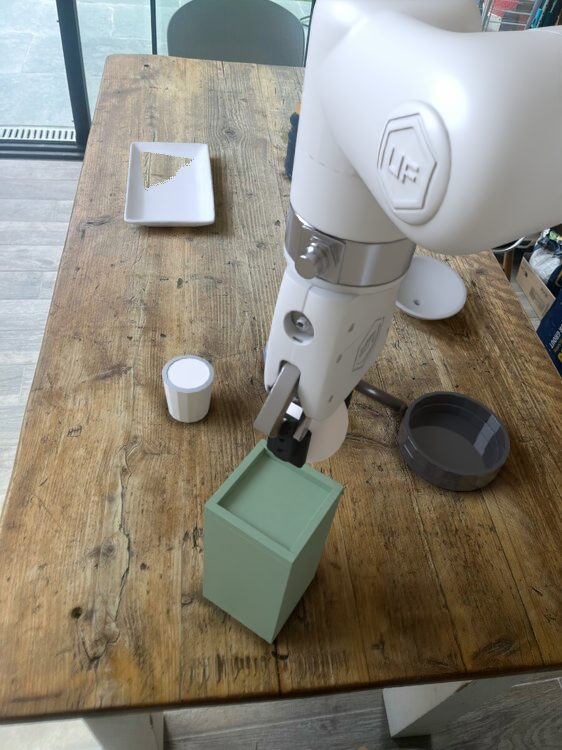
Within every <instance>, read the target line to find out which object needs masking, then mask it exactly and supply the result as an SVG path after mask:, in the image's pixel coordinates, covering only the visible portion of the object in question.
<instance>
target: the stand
mask: <svg viewBox="0 0 562 750" xmlns="http://www.w3.org/2000/svg"><path fill="white" fill-rule="evenodd" d="M344 489H345V486H344V485H343V484H342V483H339V482H338V481H336V480H334V479H332V478H331V477H329V476H328V475H326V474H324V473H322V472H321V471H319V470H317V469H315V468H313V467H312V466H311V465H309V464H308V463H305V464H304V465H303V467H302V468H297V467H296V466H294V465H292V464H291V463H289V462H284V461H282V460H280V459H278V458H277V457H275V456H274V455H273V453H272V452H271V451H269V450H268V449H267V439H264V438H263V437H262V438H261V439H260V440H259V441H258V442H257V444H256V445H255V446H254V447H253V448H252V449H251V451H250V452H249V453H248V454H247V455H246V457H244V459H243V460H242V461H241V462H240V463H239V465H238V466H237V467H236V468H235V469H234V470H233V471H232V473H231V474H230V475H229V476H227V479H225V481H224V482H223V483H222V484H221V485H220V486H219V487H218V489H217V490H216V491H215V492H214V494H212V495H211V497H210V498H209V499H208V500H207V501H206V503H204V505H203V557H202V559H203V561H202V562H203V563H202V565H203V566H202V596H203V597H204V598H205V599H207V600H208V601H210V602H211V603H212V604H214V605H215V606H217V607H218V608H219V609H221V610H222V611H223V612H225V613H226V614H227V615H229V616H231V617H232V618H233V619H234V620H237V621H238V622H239V623H241V624H242V625H243V626H245V627H246V628H248V630H250V631H252V632H253V633H254V634H256V635H258V636H259V637H260V638H262V639H263V640H265V642H267V643H268V644H271V645H272V644H273V643H274V641H275V639H276V638H277V636H278V634H279V633H280V631H281V630H282V629H283V627H284V625H285V624H286V622H287V621H288V619H289V617H290V616H291V614H292V613H293V611H294V610H295V607H297V605H298V603H299V602H300V600H301V598H302V597H303V595H304V594H305V592H306V590H307V589H308V587H309V585H310V584H311V582H312V581H313V579H314V578H315V575H316V573H317V570H318V566H319V564H320V560H321V557H322V554H323V552H324V548H325V545H326V544H327V543H326V542H327V539H328V537H329V534H330V531H331V527H332V525H333V521H334V519H335V515H336V513H337V510H338V507H339V504H340V501H341V498H342V495H343V493H344Z"/></svg>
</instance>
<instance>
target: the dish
mask: <svg viewBox="0 0 562 750" xmlns="http://www.w3.org/2000/svg"><path fill="white" fill-rule="evenodd" d="M467 294H468V291H467V287H466V283H465V281H464V280H463V279H462V277H461V275H460V274H459V273H458V272H457V271H456V270H455V269H454V268H453V267H452V266H450V265H449V264H447V263H446V262H445V261H442V260H440V259H438V258H435V257H433V256H429V255H425V254H416V253H414V256H413V259H412V262H411V264H410V268H409V271H408V274H407V276H406V278H405V279H404V280H403V281H402V282H401V284H400V289H399V293H398V297H397V301H396V305H395V307H397V308H398V309H399V310H400V311H402V312H403V313H404V314H406V315H408V316H410V317H413V318H415V319H419V320H424V321H432V320H434V321H435V320H436V321H437V320H445V319H449V318H451V317H453V316H455V315H457V314H458V313H459V312H460V311H461V310H462V309H463V308H464V306H465V304H466V301H467Z"/></svg>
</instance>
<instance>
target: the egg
mask: <svg viewBox="0 0 562 750" xmlns="http://www.w3.org/2000/svg"><path fill="white" fill-rule="evenodd" d="M302 410H303V409H302V408H301V407H299V406H297V405H296V404H294V403H292V402H291V404H290V406H289V408H288V410H287V412H286V413H288V414H289V415H291V416H293V417H295V418H296V419H298V420H299V418H300V416H301V413H302ZM348 411H349V410H348V409H347V408H346V405H345V402H344V401H343V402H342V403H341V405H340V406H339V407H338V408H337V409H336V410H335V412H334V413H333V414H332V415H331V416H329V417H328V418H326V419H324V420H321V421H315V420H314V419H312V421H311V423H310V426H309V428H308V429H309V430H310V431H311V432H312V436H311V440H310V445H309V449H308V454H307V458H306V462H305V464H316V463H320V462H322V461H326V460H327V459H329V458H331V457H332V456H334V454H335V453H337V451H339V450H340V449H341V447H342V445H343V443H344V441H345V440H346V436H347V432H348V429H349V412H348Z"/></svg>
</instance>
